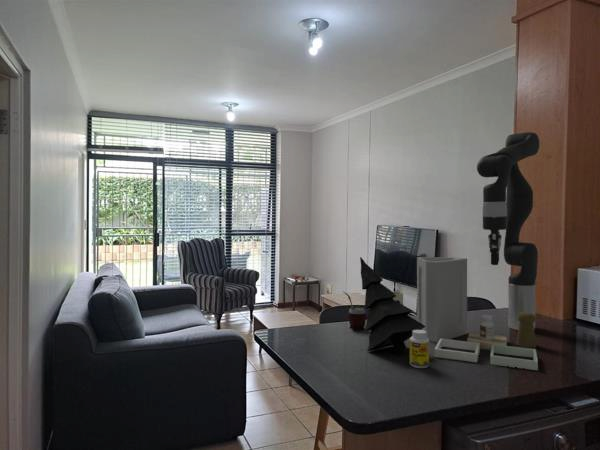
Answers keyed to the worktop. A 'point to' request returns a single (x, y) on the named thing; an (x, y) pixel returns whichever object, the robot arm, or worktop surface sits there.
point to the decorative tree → (385, 314)
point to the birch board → (487, 343)
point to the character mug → (398, 297)
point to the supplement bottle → (419, 349)
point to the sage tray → (514, 361)
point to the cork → (526, 330)
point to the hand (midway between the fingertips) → (495, 263)
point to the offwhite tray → (457, 354)
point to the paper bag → (442, 296)
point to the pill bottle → (486, 328)
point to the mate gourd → (356, 317)
